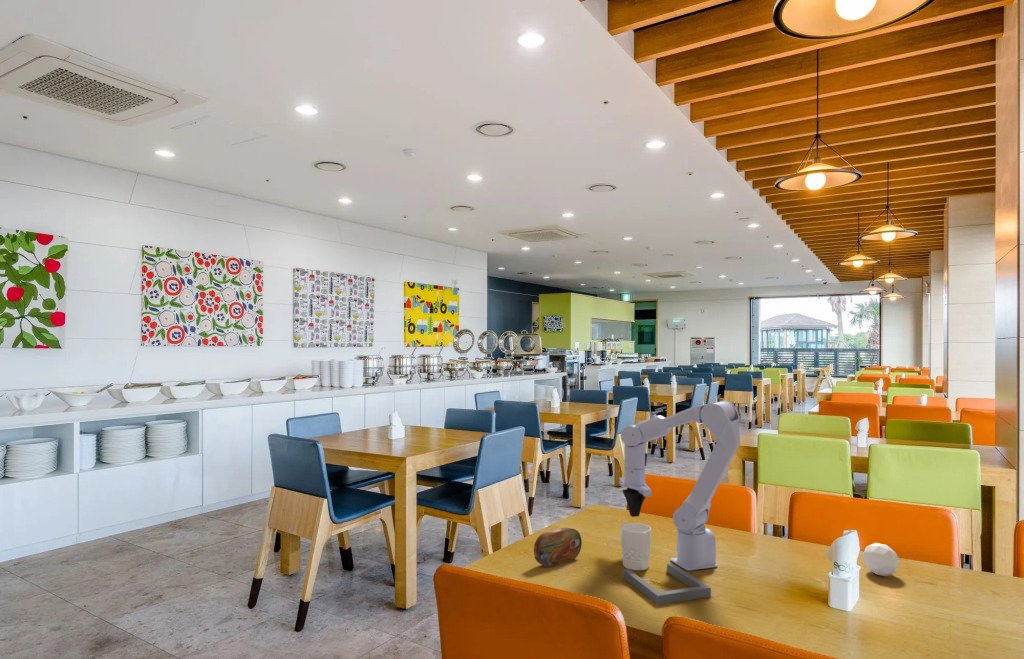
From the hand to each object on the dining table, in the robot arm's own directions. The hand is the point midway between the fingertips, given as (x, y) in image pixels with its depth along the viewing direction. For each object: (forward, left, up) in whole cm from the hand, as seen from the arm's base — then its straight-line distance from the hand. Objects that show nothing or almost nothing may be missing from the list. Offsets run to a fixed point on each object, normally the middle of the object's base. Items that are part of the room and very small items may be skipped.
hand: (634, 515), depth 162 cm
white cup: (+6, +10, -10) cm, 15 cm away
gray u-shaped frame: (+6, +24, -9) cm, 27 cm away
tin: (+24, +2, -10) cm, 26 cm away
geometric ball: (-51, +34, -10) cm, 62 cm away
